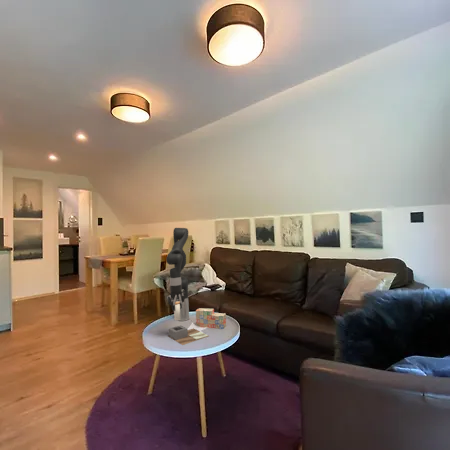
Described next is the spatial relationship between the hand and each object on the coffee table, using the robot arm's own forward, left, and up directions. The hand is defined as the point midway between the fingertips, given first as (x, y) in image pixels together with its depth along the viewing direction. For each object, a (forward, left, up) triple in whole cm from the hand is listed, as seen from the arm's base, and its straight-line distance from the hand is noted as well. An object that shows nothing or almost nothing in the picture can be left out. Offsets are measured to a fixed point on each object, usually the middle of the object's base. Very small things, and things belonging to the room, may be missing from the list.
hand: (176, 309), depth 185 cm
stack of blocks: (-3, +29, -19) cm, 35 cm away
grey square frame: (0, 0, -18) cm, 18 cm away
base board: (+5, +5, -19) cm, 20 cm away
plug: (0, 0, -6) cm, 6 cm away
